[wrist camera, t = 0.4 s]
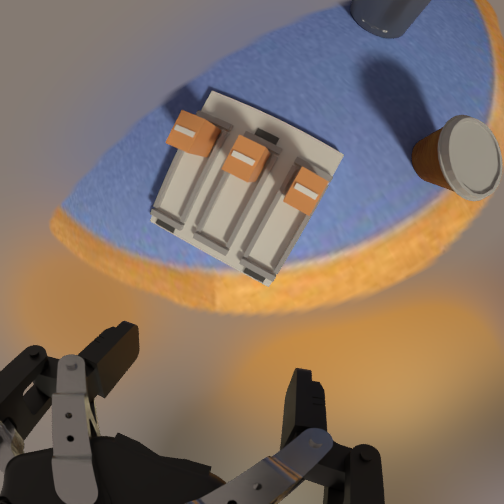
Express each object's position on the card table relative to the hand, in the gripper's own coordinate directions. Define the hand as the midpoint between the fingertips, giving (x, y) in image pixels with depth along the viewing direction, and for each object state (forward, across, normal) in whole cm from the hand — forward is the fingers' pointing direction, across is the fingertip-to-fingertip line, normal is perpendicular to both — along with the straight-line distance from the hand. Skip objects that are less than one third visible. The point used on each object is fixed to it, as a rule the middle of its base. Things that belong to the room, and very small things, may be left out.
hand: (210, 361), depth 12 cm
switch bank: (+26, +4, -6) cm, 27 cm away
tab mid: (+24, +3, -10) cm, 26 cm away
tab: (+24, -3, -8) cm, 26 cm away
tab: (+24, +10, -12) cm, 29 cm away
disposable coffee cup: (+27, -21, -16) cm, 38 cm away
